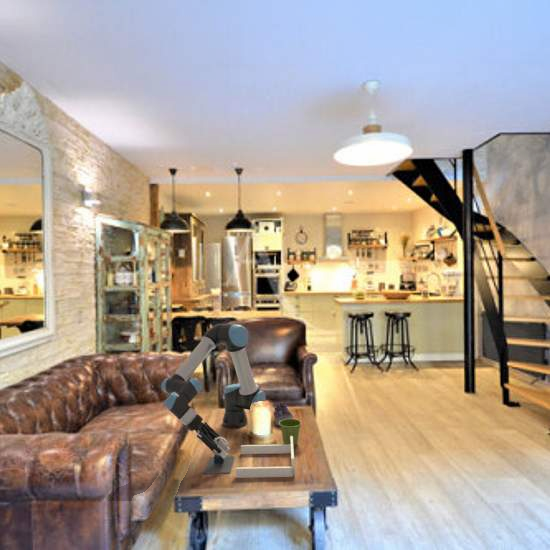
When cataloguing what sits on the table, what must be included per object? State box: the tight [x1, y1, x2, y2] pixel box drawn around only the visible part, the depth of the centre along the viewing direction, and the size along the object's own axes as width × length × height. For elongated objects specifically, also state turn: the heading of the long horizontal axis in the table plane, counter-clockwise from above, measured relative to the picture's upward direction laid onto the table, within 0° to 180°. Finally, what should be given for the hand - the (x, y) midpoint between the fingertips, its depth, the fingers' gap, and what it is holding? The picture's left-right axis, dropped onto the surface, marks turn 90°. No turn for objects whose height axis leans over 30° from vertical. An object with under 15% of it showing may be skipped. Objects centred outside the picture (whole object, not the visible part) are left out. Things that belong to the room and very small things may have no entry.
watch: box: [210, 436, 228, 464], centre depth 190 cm, size 6×8×11 cm
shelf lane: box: [235, 436, 295, 479], centre depth 189 cm, size 24×26×8 cm
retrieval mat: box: [203, 455, 235, 475], centre depth 190 cm, size 16×12×1 cm
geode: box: [273, 402, 293, 428], centre depth 245 cm, size 20×12×10 cm, turn 8°
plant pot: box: [279, 418, 302, 447], centre depth 211 cm, size 12×12×11 cm
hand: (227, 453), depth 190 cm, fingers closed on watch, 5 cm apart
